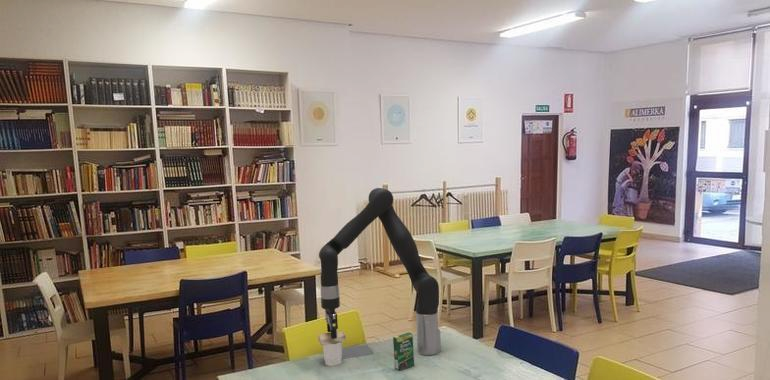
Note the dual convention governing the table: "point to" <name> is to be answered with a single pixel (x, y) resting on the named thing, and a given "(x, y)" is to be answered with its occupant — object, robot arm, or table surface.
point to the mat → (356, 351)
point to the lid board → (327, 339)
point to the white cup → (333, 354)
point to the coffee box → (403, 351)
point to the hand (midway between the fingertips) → (332, 335)
